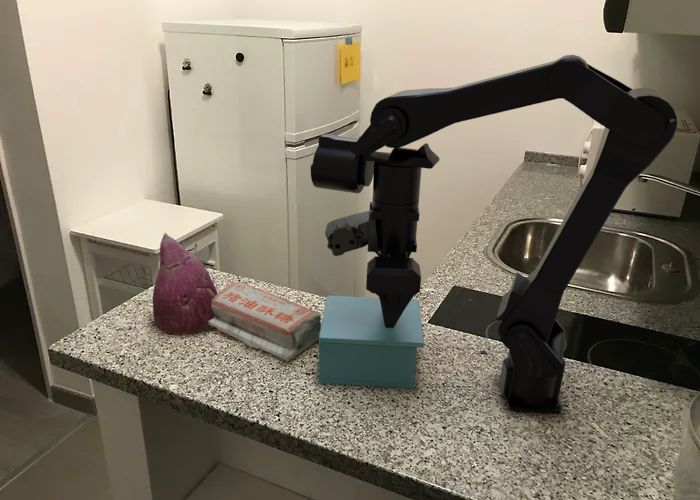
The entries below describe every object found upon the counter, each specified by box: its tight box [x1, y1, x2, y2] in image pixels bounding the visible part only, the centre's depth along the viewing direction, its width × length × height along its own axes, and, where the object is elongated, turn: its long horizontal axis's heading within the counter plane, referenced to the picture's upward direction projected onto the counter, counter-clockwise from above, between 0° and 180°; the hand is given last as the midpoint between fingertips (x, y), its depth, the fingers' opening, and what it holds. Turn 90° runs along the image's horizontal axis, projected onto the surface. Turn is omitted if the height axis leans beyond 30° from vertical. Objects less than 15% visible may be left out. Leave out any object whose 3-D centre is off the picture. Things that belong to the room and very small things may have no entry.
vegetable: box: [152, 232, 218, 335], centre depth 88 cm, size 10×10×15 cm
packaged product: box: [208, 281, 322, 362], centre depth 87 cm, size 18×5×10 cm
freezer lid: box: [318, 295, 425, 349], centre depth 78 cm, size 13×11×5 cm
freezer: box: [318, 341, 418, 389], centre depth 80 cm, size 12×11×6 cm
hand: (388, 309), depth 78 cm, fingers open, 9 cm apart
